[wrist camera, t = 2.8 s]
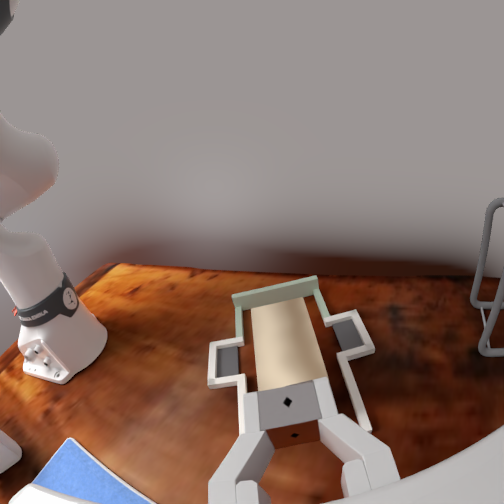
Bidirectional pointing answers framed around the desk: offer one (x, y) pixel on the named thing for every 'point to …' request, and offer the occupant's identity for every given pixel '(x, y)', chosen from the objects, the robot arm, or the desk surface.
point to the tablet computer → (86, 478)
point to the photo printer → (8, 452)
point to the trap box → (345, 326)
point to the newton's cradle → (498, 303)
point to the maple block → (285, 345)
